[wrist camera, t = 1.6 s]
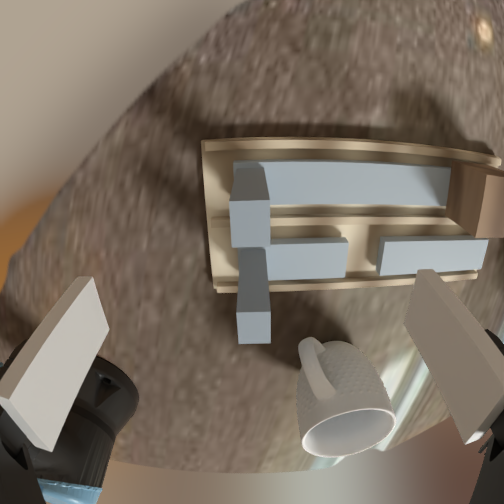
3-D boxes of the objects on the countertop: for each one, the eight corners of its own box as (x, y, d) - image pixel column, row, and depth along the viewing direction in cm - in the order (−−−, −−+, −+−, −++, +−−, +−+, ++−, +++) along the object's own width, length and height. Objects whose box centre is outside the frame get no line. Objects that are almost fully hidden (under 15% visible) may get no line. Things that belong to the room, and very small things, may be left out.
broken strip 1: (239, 274, 34) (235, 348, 24) (237, 239, 32) (231, 306, 22) (341, 271, 34) (373, 340, 24) (345, 237, 32) (383, 299, 22)
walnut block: (444, 215, 29) (475, 237, 24) (451, 160, 27) (486, 174, 21) (482, 216, 29) (513, 237, 24) (490, 165, 27) (525, 180, 21)
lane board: (214, 285, 36) (212, 293, 34) (202, 139, 29) (199, 142, 27) (472, 272, 35) (478, 279, 34) (495, 155, 28) (504, 158, 27)
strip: (235, 201, 30) (227, 255, 20) (233, 160, 29) (223, 193, 18) (488, 204, 30) (550, 245, 20) (493, 173, 28) (560, 205, 18)
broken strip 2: (375, 269, 34) (379, 275, 32) (380, 236, 32) (385, 241, 31) (475, 263, 34) (480, 268, 32) (482, 235, 32) (488, 239, 30)
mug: (259, 334, 39) (261, 419, 27) (337, 292, 36) (369, 373, 25) (313, 392, 45) (325, 465, 33) (378, 360, 42) (406, 432, 30)
